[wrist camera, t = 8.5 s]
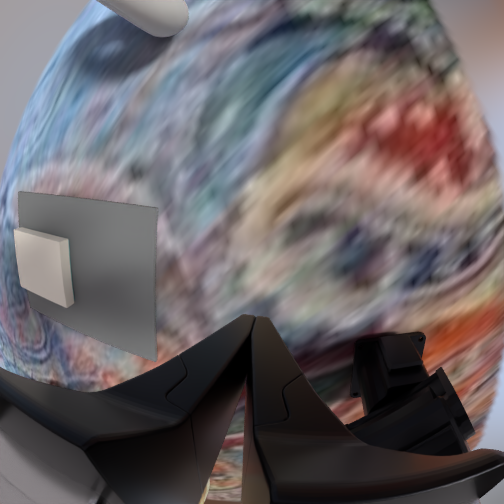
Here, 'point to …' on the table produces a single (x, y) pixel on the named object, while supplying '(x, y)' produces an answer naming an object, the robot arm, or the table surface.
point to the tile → (44, 265)
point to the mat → (102, 267)
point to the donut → (152, 14)
